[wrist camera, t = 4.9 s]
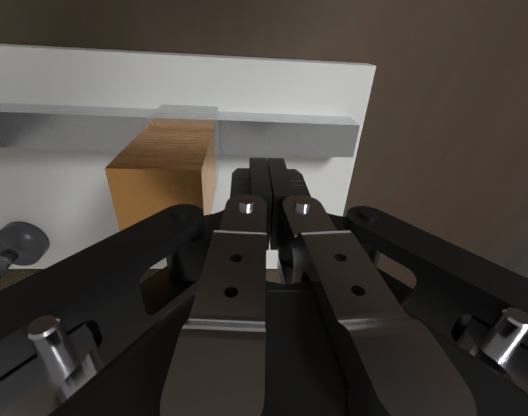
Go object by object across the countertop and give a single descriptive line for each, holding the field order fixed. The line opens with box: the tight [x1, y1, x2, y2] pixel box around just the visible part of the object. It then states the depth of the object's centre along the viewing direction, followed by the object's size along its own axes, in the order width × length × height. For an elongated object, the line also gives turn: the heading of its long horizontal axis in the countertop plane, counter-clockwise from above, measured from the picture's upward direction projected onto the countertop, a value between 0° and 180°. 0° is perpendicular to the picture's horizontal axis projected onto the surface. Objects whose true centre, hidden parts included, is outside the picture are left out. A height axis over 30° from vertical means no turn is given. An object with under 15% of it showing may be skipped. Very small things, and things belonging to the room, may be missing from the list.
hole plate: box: [0, 44, 376, 269], centre depth 21 cm, size 16×28×3 cm, turn 87°
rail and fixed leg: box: [0, 103, 360, 278], centre depth 16 cm, size 11×26×10 cm, turn 87°
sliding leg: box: [105, 104, 220, 231], centre depth 16 cm, size 11×3×8 cm, turn 177°
